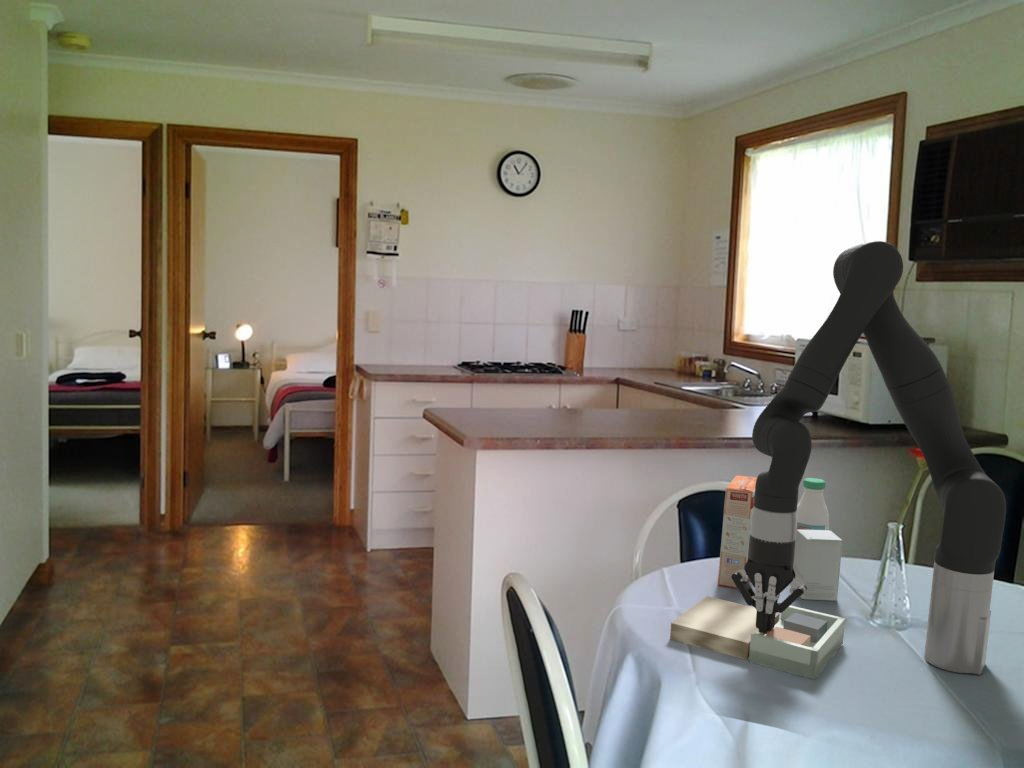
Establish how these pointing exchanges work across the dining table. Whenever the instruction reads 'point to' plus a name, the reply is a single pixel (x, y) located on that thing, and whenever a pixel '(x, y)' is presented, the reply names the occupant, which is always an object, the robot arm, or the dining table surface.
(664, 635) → the dining table surface
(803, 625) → the slate tile
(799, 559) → the supplement box
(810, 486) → the milk bottle
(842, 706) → the dining table surface
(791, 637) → the terracotta tile
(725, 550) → the cracker box
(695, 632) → the plate
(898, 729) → the dining table surface
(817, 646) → the box
